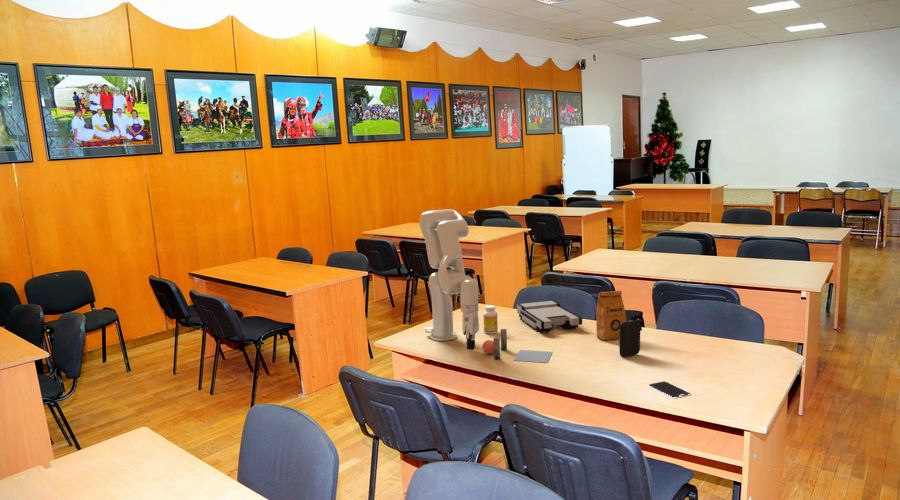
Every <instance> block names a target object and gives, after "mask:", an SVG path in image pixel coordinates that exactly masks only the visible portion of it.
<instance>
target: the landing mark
mask: <svg viewBox="0 0 900 500" xmlns="http://www.w3.org/2000/svg"><path fill="white" fill-rule="evenodd" d="M552 354H553V351H543V350H542V351H541V350H527V349H519V350H518V353H516V356H515V357H514V358H513V362H525V363H528V362H529V363H540V364H541V363H542V364H549V363H548V362H549V361H550V358H551V356H552Z"/></svg>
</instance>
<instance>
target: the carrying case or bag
mask: <svg viewBox="0 0 900 500" xmlns="http://www.w3.org/2000/svg"><path fill="white" fill-rule="evenodd" d="M642 331H643V328H642V325H641V323H640V322H639V320H636V319H635V320H631V321H626V322H623V323H621V325H620V339H618V340H619V341H618V342H619V345H618V346H619V350H618V351H619V356H620V357H622V358H627V357H632V356H633V357H634V356H637V355H638V354H639V353H640V350H641V332H642Z"/></svg>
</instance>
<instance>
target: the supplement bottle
mask: <svg viewBox="0 0 900 500" xmlns="http://www.w3.org/2000/svg"><path fill="white" fill-rule="evenodd" d="M484 308H485V311H484V312H483V313H482V315H483V332H484V333H485V334H486V335H487V334H488V335H493V334H494V335H496V334H497V333H498V331H499V330H498V329H499V328H498V327H499V326H498V325H499V324H498V312H497V311H496V306H495V305H491V304H490V305H485V307H484Z"/></svg>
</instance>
